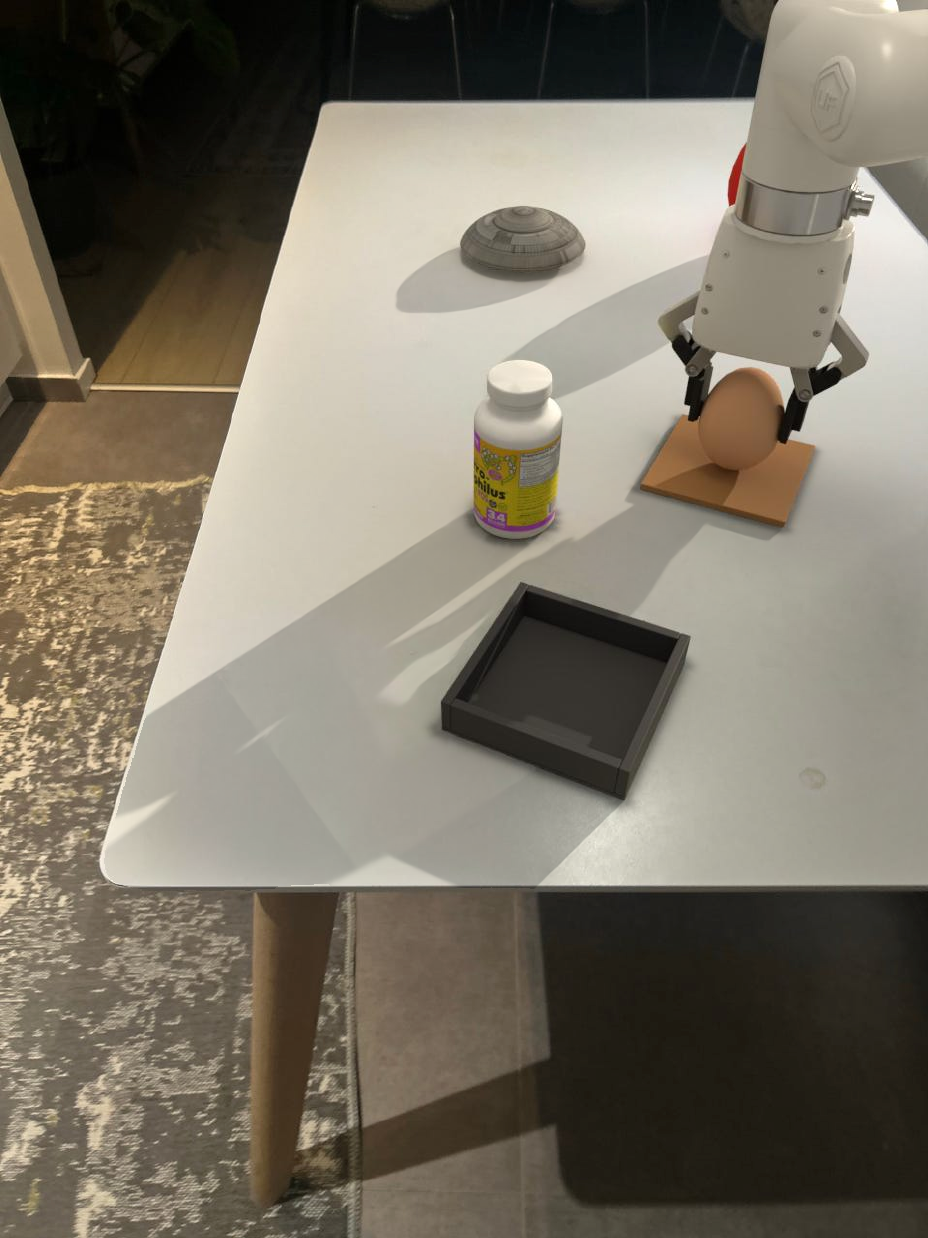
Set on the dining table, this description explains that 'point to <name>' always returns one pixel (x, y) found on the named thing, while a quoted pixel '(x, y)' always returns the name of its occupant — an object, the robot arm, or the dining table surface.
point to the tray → (567, 688)
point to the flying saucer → (522, 240)
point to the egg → (741, 419)
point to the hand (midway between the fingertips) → (740, 422)
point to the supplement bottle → (517, 451)
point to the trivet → (728, 477)
